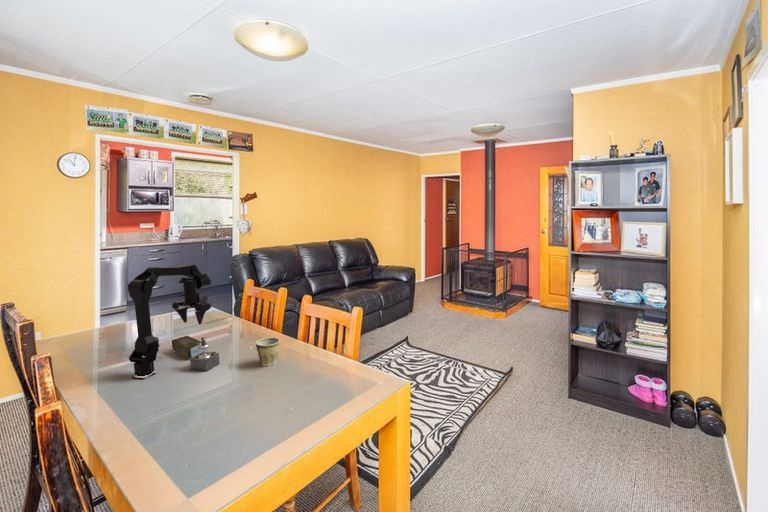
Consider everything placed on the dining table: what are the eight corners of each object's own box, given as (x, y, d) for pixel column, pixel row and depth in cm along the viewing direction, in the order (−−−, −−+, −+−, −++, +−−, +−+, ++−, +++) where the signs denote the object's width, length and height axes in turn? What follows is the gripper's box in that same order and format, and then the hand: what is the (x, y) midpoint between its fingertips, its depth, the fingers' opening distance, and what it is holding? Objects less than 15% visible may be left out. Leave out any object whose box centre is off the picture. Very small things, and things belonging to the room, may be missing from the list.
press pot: (206, 371, 162) (205, 360, 162) (191, 369, 164) (190, 358, 164) (222, 362, 172) (221, 351, 171) (207, 360, 174) (206, 350, 173)
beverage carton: (190, 361, 175) (189, 347, 174) (171, 352, 186) (170, 338, 186) (207, 355, 181) (206, 341, 180) (188, 347, 193) (187, 334, 192)
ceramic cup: (273, 368, 164) (272, 346, 162) (252, 367, 166) (251, 344, 164) (287, 357, 176) (286, 335, 175) (267, 355, 178) (266, 334, 177)
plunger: (205, 359, 163) (203, 340, 162) (195, 358, 165) (194, 339, 164) (213, 355, 168) (212, 336, 167) (203, 354, 170) (202, 335, 168)
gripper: (218, 288, 185) (220, 320, 187) (189, 286, 192) (192, 317, 194) (200, 293, 175) (202, 327, 177) (170, 291, 182) (172, 323, 183)
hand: (192, 323), depth 183 cm, fingers open, 9 cm apart
